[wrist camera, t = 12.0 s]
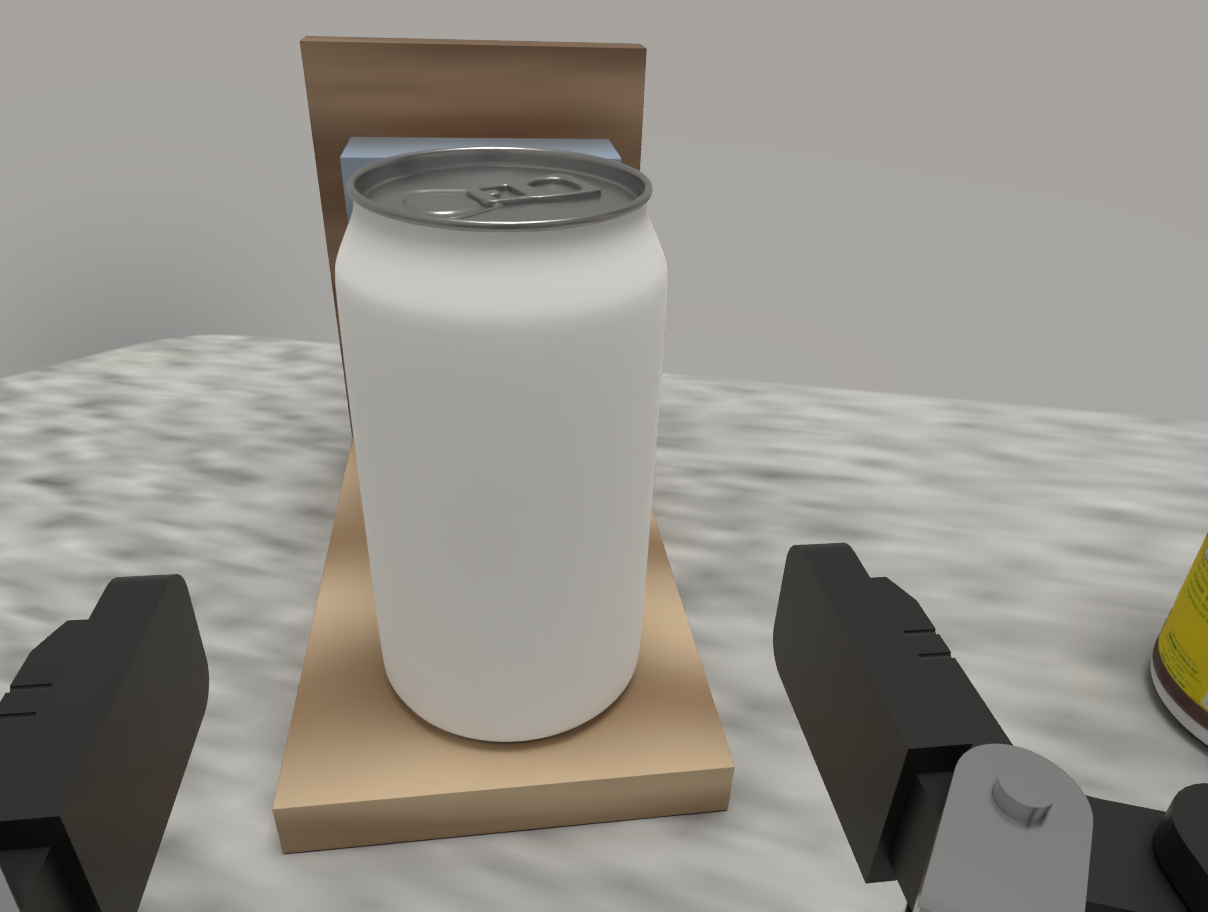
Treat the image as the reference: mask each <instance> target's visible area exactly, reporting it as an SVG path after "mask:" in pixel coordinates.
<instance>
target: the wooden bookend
mask: <svg viewBox="0 0 1208 912" xmlns="http://www.w3.org/2000/svg"><path fill="white" fill-rule="evenodd" d="M300 46H301V53H302V61H303V69H304V76H305V84H306V90H307V99H308V107H309V113H310V122H311V129H312V137H313V144H314V152H315V159H316V167H317V174H318V182H319V189H320V197H321V204H322V212H323V219H324V227H325V234H326V242H327V250H328V257H329V265H330V272H331V280H332V287H333V294H334V303H335V310H336V317H337V325H338V333H339V340H340V348H341V355H342V363H343V370H344V378H345V385H346V393H347V401H348V408H349V416H350V423H351V431H352V442H351V446H350V451H349V455H348V460H347V465H346V469H345V474H344V479H343V483H342V488H341V493H340V497H339V502H338V507H337V511H336V516H335V521H334V525H333V530H332V534H331V539H330V544H329V548H328V553H327V558H326V562H325V567H324V572H323V576H322V581H321V586H320V590H319V595H318V599H317V604H316V609H315V613H314V618H313V623H312V627H311V632H310V637H309V641H308V646H307V651H306V655H305V660H304V665H303V669H302V674H301V678H300V683H299V688H298V692H297V697H296V702H295V706H294V711H293V716H292V720H291V725H290V730H289V734H288V739H287V744H286V748H285V753H284V757H283V762H282V767H281V771H280V776H279V781H278V785H277V790H276V795H275V799H274V804H273V809H272V810H273V814H274V818H275V822H276V826H277V830H278V834H279V838H280V842H281V846H282V850H283V853H294V852H304V851H314V850H324V849H334V848H344V847H354V846H365V845H375V844H385V843H395V842H405V841H415V840H426V839H436V838H446V837H456V836H466V835H476V834H487V833H497V832H507V831H517V830H527V829H537V828H547V827H558V826H568V825H578V824H588V823H598V822H608V821H619V820H629V819H639V818H649V817H659V816H669V815H679V814H690V813H700V812H710V811H720V810H727V808H728V802H729V797H730V791H731V785H732V779H733V773H734V764H733V761H732V758H731V754H730V751H729V748H728V745H727V742H726V739H725V736H724V733H723V730H722V726H721V723H720V720H719V717H718V714H717V711H716V708H715V705H714V701H713V698H712V695H711V692H710V689H709V686H708V683H707V680H706V676H705V673H704V670H703V667H702V664H701V661H700V658H699V655H698V651H697V648H696V645H695V642H694V639H693V636H692V633H691V630H690V627H689V623H688V620H687V617H686V614H685V611H684V608H683V605H682V602H681V598H680V595H679V592H678V589H677V586H676V583H675V580H674V577H673V573H672V570H671V567H670V564H669V561H668V558H667V555H666V552H665V548H664V545H663V542H662V539H661V536H660V533H659V530H658V527H657V523H656V520H655V517H654V514H653V511H652V508H651V519H650V532H649V545H648V558H647V570H646V582H645V594H644V607H643V618H642V629H641V640H640V649H639V655H638V661H637V665H636V668H635V671H634V673H633V676H632V678H631V680H630V682H629V683H628V685H627V686H626V688H625V689H624V691H623V692H622V693H621V694H620V696H619V697H618V698H617V699H616V700H615V701H614V702H613V703H612V704H611V705H610V706H609V707H607V708H606V709H605V710H604V711H602V712H601V713H600V714H598V715H597V716H595V717H594V718H592V719H590V720H589V721H587V722H585V723H583V724H581V725H579V726H578V727H576V728H574V729H572V730H569V731H567V732H565V733H562V734H559V735H556V736H553V737H550V738H546V739H542V740H537V741H531V742H523V743H491V742H483V741H477V740H473V739H469V738H465V737H462V736H459V735H456V734H453V733H450V732H448V731H445V730H443V729H440V728H438V727H436V726H434V725H432V724H431V723H429V722H427V721H426V720H424V719H423V718H421V717H420V716H419V715H417V714H416V713H415V712H414V711H413V710H412V709H411V708H410V707H408V706H407V704H406V703H405V702H404V701H403V700H402V699H401V698H400V697H399V695H398V694H397V693H396V691H395V690H394V688H393V687H392V685H391V683H390V681H389V679H388V676H387V674H386V670H385V666H384V661H383V655H382V649H381V642H380V635H379V628H378V621H377V613H376V606H375V598H374V591H373V583H372V576H371V568H370V561H369V553H368V545H367V538H366V530H365V522H364V515H363V507H362V499H361V491H360V484H359V476H358V468H357V460H356V452H355V444H354V437H353V429H352V421H351V413H350V405H349V397H348V389H347V381H346V373H345V365H344V357H343V348H342V340H341V331H340V323H339V314H338V305H337V295H336V284H335V264H336V259H337V255H338V252H339V248H340V245H341V243H342V240H343V237H344V234H345V232H346V229H347V226H348V224H349V221H350V218H351V215H352V211H353V200H352V199H351V197H350V196H349V194H348V191H347V181H348V179H349V177H350V176H351V175H352V174H353V173H354V172H355V171H356V170H358V169H359V168H361V167H363V166H365V165H367V164H370V163H372V162H375V161H378V160H381V159H384V158H388V157H392V156H396V155H401V154H406V153H411V152H417V151H424V150H432V149H442V148H455V147H475V146H511V147H532V148H545V149H555V150H563V151H571V152H577V153H583V154H589V155H593V156H598V157H602V158H606V159H610V160H613V161H617V162H620V163H622V164H625V165H628V166H630V167H632V168H634V169H636V170H638V171H640V157H641V140H642V122H643V104H644V86H645V67H646V50H647V49H646V48H645V47H644V46H642V45H641V44H628V43H626V44H625V43H583V42H540V41H539V42H538V41H497V40H454V39H410V38H409V39H408V38H406V39H405V38H367V37H322V36H321V37H320V36H319V37H318V36H306V37H305V38H303V39H302V40H301V41H300Z"/></svg>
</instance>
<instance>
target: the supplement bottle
mask: <svg viewBox="0 0 1208 912" xmlns="http://www.w3.org/2000/svg"><path fill="white" fill-rule="evenodd" d="M1151 675H1152V679H1153V682H1154V685H1155V688H1156V690H1157V692H1158V694H1159V696H1160V698H1161V699H1162V701H1163V702H1164V704H1165V705H1166V707H1167V708H1168V709H1169V711H1170V712H1171V713H1172V714H1173V715H1174V716H1175V718H1176V719H1177V720H1178V721H1179V722H1180V723H1181V724H1182V725H1183V726H1184V727H1185V728H1186V729H1188V730H1189V731H1190V732H1191V733H1192V734H1193V735H1194V736H1196V737H1197V738H1198V739H1200V740H1201V741H1202V742H1204V743H1205V744H1206V745H1208V533H1207V535H1206V537H1205V540H1204V542H1203V544H1202V546H1201V548H1200V550H1199V552H1198V554H1197V556H1196V558H1195V560H1194V563H1193V565H1192V567H1191V569H1190V571H1189V573H1188V575H1187V577H1186V579H1185V582H1184V584H1183V586H1182V588H1181V590H1180V592H1179V594H1178V596H1177V598H1176V601H1175V603H1174V606H1173V608H1172V609H1171V611H1170V613H1169V616H1168V618H1167V619H1166V621H1165V623H1164V626H1163V628H1162V630H1161V632H1160V634H1159V637H1158V638H1157V640H1156V643H1155V646H1154V649H1153V651H1152V655H1151Z"/></svg>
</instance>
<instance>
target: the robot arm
mask: <svg viewBox="0 0 1208 912" xmlns="http://www.w3.org/2000/svg"><path fill="white" fill-rule="evenodd" d="M773 648H774V656H775V662H776V666H777V670H778V673H779V675H780V678H781V680H782V683H783V685H784V687H785V690H786V692H787V695H788V697H789V700H790V702H791V704H792V707H793V709H794V712H795V714H796V716H797V719H798V721H799V724H800V726H801V728H802V731H803V733H804V736H805V738H806V741H807V743H808V745H809V748H810V750H811V753H812V755H813V757H814V760H815V762H816V765H817V767H818V770H819V772H820V774H821V777H822V779H823V782H824V784H825V786H826V789H827V791H828V794H829V796H830V798H831V801H832V803H833V806H834V808H835V811H836V813H837V815H838V818H839V820H840V823H841V825H842V827H843V830H844V832H845V835H846V837H847V839H848V842H849V844H850V847H851V849H852V852H853V854H854V856H855V859H856V861H857V864H858V866H859V868H860V871H861V873H862V876H863V878H864V881H865V883H875V882H885V881H895V880H898V883H899V885H900V887H901V889H902V891H903V894H904V896H905V898H906V900H907V902H906V905H905V908H904V911H903V912H1208V783H1202V784H1194V785H1191V786H1188V787H1185V788H1184V789H1182V790H1181V791H1179V792H1178V793H1177V795H1176V796H1175V797H1174V799H1173V801H1172V802H1171V804H1170V806H1169V808H1168V810H1167V811H1166V812H1164V811H1159V810H1154V809H1149V808H1144V807H1138V806H1133V805H1128V804H1123V803H1118V802H1113V801H1108V800H1103V799H1098V798H1094V797H1090V796H1086V795H1085V794H1084V793H1083V791H1082V790H1081V788H1080V787H1079V786H1078V784H1077V783H1076V782H1075V781H1074V780H1073V779H1072V778H1071V777H1070V776H1069V775H1068V774H1067V773H1066V772H1065V771H1064V770H1062V769H1061V768H1060V767H1058V766H1057V765H1056V764H1054V763H1053V762H1051V761H1049V760H1048V759H1046V758H1044V757H1043V756H1041V755H1038V754H1036V753H1034V752H1032V751H1029V750H1026V749H1023V748H1020V747H1017V746H1013V744H1012V743H1011V742H1010V740H1009V739H1008V737H1007V736H1006V734H1005V733H1004V731H1003V730H1002V728H1001V727H1000V725H999V724H998V722H997V721H996V719H995V718H994V716H993V715H992V713H991V712H990V710H989V709H988V707H987V706H986V704H985V703H984V701H983V700H982V698H981V697H980V695H979V693H978V692H977V690H976V689H975V687H974V686H973V684H972V683H971V681H970V680H969V678H968V677H967V675H966V674H965V672H964V671H963V669H962V668H961V666H960V665H959V663H958V662H957V660H956V659H955V658H952V657H951V651H950V650H949V648H948V647H947V645H946V644H945V642H944V641H943V639H942V638H941V636H940V635H939V634H937V635H936V633H935V627H934V626H933V624H932V623H931V621H930V620H929V618H928V617H927V615H926V614H925V612H924V611H923V609H922V608H921V606H920V605H919V603H918V602H917V600H915V599H914V598H913V597H911V596H910V595H909V594H908V593H906V592H905V591H904V590H902V589H901V588H900V587H899V586H897V585H896V584H895V583H893V582H892V581H891V580H890V579H888V578H887V577H877V578H870V576H869V575H868V573H867V572H866V570H865V568H864V567H863V565H862V563H861V562H860V560H859V559H858V557H857V555H856V554H855V552H854V551H853V549H852V548H851V546H849V545H848V544H847V543H828V544H808V545H794V546H792V547H791V548H790V550H789V552H788V554H787V558H786V563H785V569H784V574H783V580H782V585H781V591H780V596H779V602H778V607H777V613H776V618H775V624H774V630H773ZM208 692H209V671H208V664H207V659H206V655H205V652H204V648H203V644H202V640H201V637H200V633H199V629H198V625H197V621H196V618H195V614H194V610H193V606H192V603H191V599H190V595H189V591H188V588H187V585H186V582H185V580H184V579H183V577H182V576H181V575H178V574H171V575H151V576H131V577H116V578H114V579H112V580H111V581H110V582H109V584H108V585H107V587H106V589H105V590H104V592H103V594H102V596H101V598H100V599H99V601H98V603H97V605H96V607H95V608H94V610H93V612H92V614H91V616H90V617H89V619H87V620H69V621H66V622H65V623H64V624H63V625H61V626H60V627H59V628H58V629H57V630H56V631H54V632H53V633H52V634H51V635H50V636H49V637H47V638H46V639H45V640H44V641H43V642H41V643H40V644H39V645H38V646H37V647H36V648H34V649H33V650H32V651H31V652H30V654H29V655H28V657H27V659H26V660H25V662H24V664H23V665H22V667H21V669H20V670H19V672H18V674H17V675H16V677H15V678H14V680H13V682H12V683H11V685H10V692H9V693H5V695H4V697H3V698H2V700H1V701H0V912H137V911H138V908H139V905H140V902H141V899H142V896H143V893H144V890H145V887H146V884H147V881H148V878H149V875H150V873H151V870H152V867H153V864H154V861H155V858H156V855H157V852H158V849H159V846H160V843H161V840H162V837H163V834H164V831H165V828H166V825H167V822H168V819H169V816H170V814H171V811H172V808H173V805H174V802H175V799H176V796H177V793H178V790H179V787H180V784H181V781H182V778H183V775H184V772H185V769H186V766H187V763H188V760H189V758H190V755H191V752H192V749H193V746H194V743H195V740H196V737H197V734H198V731H199V728H200V725H201V722H202V719H203V716H204V713H205V710H206V705H207V700H208Z"/></svg>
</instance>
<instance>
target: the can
mask: <svg viewBox="0 0 1208 912" xmlns="http://www.w3.org/2000/svg"><path fill="white" fill-rule="evenodd" d="M347 191H348V194H349V196H350V197H351V199H352V200H353V211H352V215H351V218H350V221H349V224H348V226H347V229H346V232H345V234H344V237H343V240H342V243H341V245H340V248H339V252H338V255H337V259H336V264H335V284H336V295H337V305H338V314H339V323H340V331H341V340H342V348H343V357H344V365H345V373H346V381H347V389H348V397H349V405H350V413H351V421H352V429H353V437H354V444H355V452H356V460H357V468H358V476H359V484H360V491H361V499H362V507H363V515H364V522H365V530H366V538H367V545H368V553H369V561H370V568H371V576H372V583H373V591H374V598H375V606H376V613H377V621H378V628H379V635H380V642H381V649H382V655H383V661H384V666H385V670H386V674H387V676H388V679H389V681H390V683H391V685H392V687H393V688H394V690H395V691H396V693H397V694H398V695H399V697H400V698H401V699H402V700H403V701H404V702H405V703H406V704H407V706H408V707H410V708H411V709H412V710H413V711H414V712H415V713H416V714H417V715H419V716H420V717H421V718H423V719H424V720H426V721H427V722H429V723H431V724H432V725H434V726H436V727H438V728H440V729H443V730H445V731H448V732H450V733H453V734H456V735H459V736H462V737H465V738H469V739H473V740H477V741H483V742H491V743H523V742H531V741H537V740H542V739H546V738H550V737H553V736H556V735H559V734H562V733H565V732H567V731H569V730H572V729H574V728H576V727H578V726H579V725H581V724H583V723H585V722H587V721H589V720H590V719H592V718H594V717H595V716H597V715H598V714H600V713H601V712H602V711H604V710H605V709H606V708H607V707H609V706H610V705H611V704H612V703H613V702H614V701H615V700H616V699H617V698H618V697H619V696H620V694H621V693H622V692H623V691H624V689H625V688H626V686H627V685H628V683H629V682H630V680H631V678H632V676H633V673H634V671H635V668H636V665H637V661H638V655H639V649H640V640H641V629H642V618H643V607H644V594H645V582H646V570H647V558H648V545H649V532H650V519H651V507H652V494H653V481H654V468H655V454H656V441H657V428H658V415H659V401H660V388H661V374H662V359H663V345H664V331H665V316H666V298H667V297H666V296H667V265H666V260H665V257H664V254H663V251H662V248H661V245H660V243H659V240H658V238H657V235H656V233H655V230H654V228H653V225H652V224H651V220H650V218H649V214H648V211H647V202H648V200H649V199H650V197H651V194H652V185H651V182H650V180H649V179H648V178H647V177H646V176H645V175H644V174H643V173H641V172H640V171H638V170H636V169H634V168H632V167H630V166H628V165H625V164H622V163H620V162H617V161H613V160H610V159H606V158H602V157H598V156H593V155H589V154H583V153H577V152H571V151H563V150H555V149H545V148H532V147H511V146H475V147H455V148H442V149H432V150H424V151H417V152H411V153H406V154H401V155H396V156H392V157H388V158H384V159H381V160H378V161H375V162H372V163H370V164H367V165H365V166H363V167H361V168H359V169H358V170H356V171H355V172H354V173H353V174H352V175H351V176H350V177H349V179H348V181H347Z"/></svg>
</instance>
